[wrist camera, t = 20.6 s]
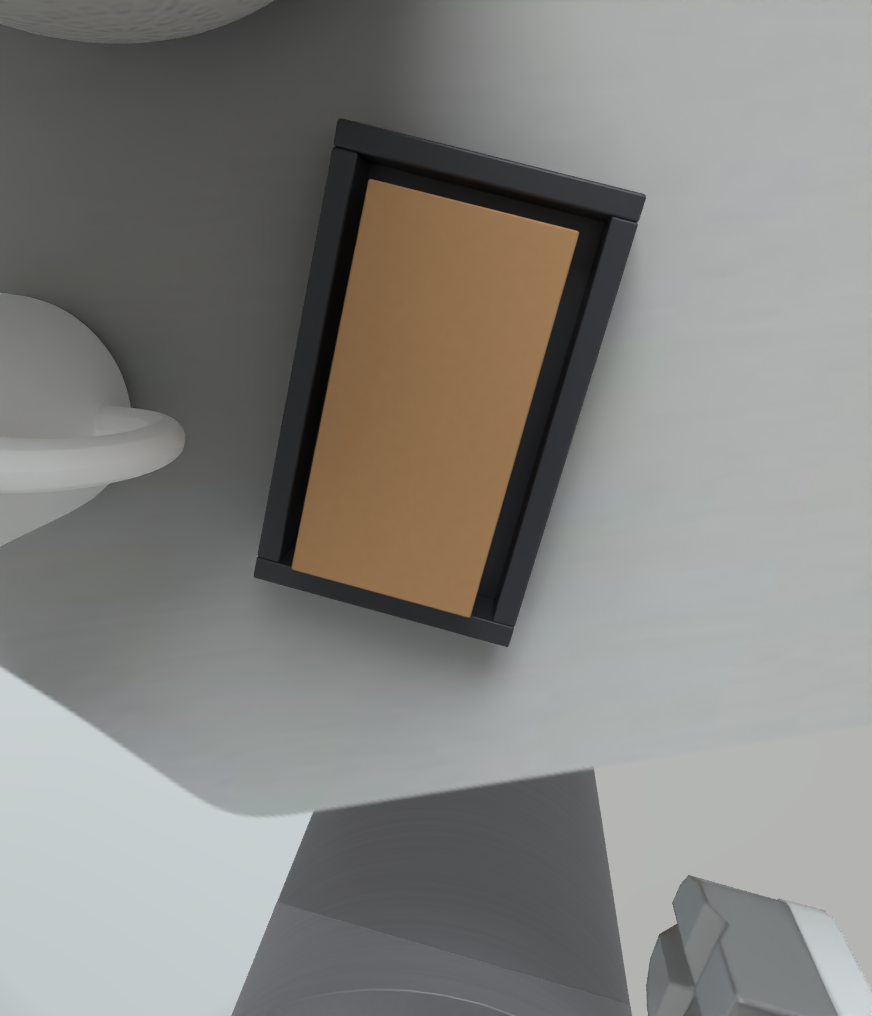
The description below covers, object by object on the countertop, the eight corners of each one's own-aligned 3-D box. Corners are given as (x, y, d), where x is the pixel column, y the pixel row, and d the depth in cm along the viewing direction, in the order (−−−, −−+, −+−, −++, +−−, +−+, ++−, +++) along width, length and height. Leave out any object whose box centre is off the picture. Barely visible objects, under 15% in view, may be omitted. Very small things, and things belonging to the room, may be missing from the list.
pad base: (509, 616, 29) (508, 648, 26) (275, 553, 29) (252, 577, 26) (634, 204, 24) (647, 194, 22) (356, 134, 24) (337, 116, 22)
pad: (570, 241, 24) (580, 231, 20) (476, 573, 28) (469, 618, 24) (392, 196, 24) (368, 178, 20) (322, 531, 28) (290, 570, 24)
